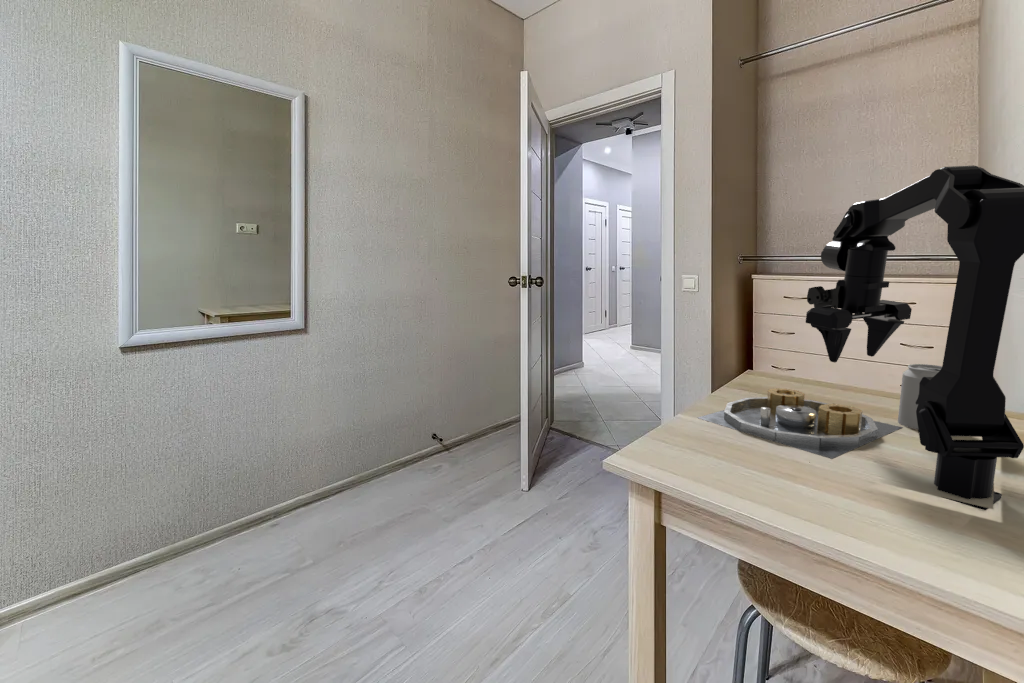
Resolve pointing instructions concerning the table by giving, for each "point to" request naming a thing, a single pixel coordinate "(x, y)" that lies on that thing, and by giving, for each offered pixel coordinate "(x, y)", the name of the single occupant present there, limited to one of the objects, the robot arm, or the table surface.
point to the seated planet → (784, 398)
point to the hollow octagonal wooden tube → (839, 419)
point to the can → (913, 392)
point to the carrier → (762, 423)
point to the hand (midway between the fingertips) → (851, 358)
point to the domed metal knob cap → (795, 416)
